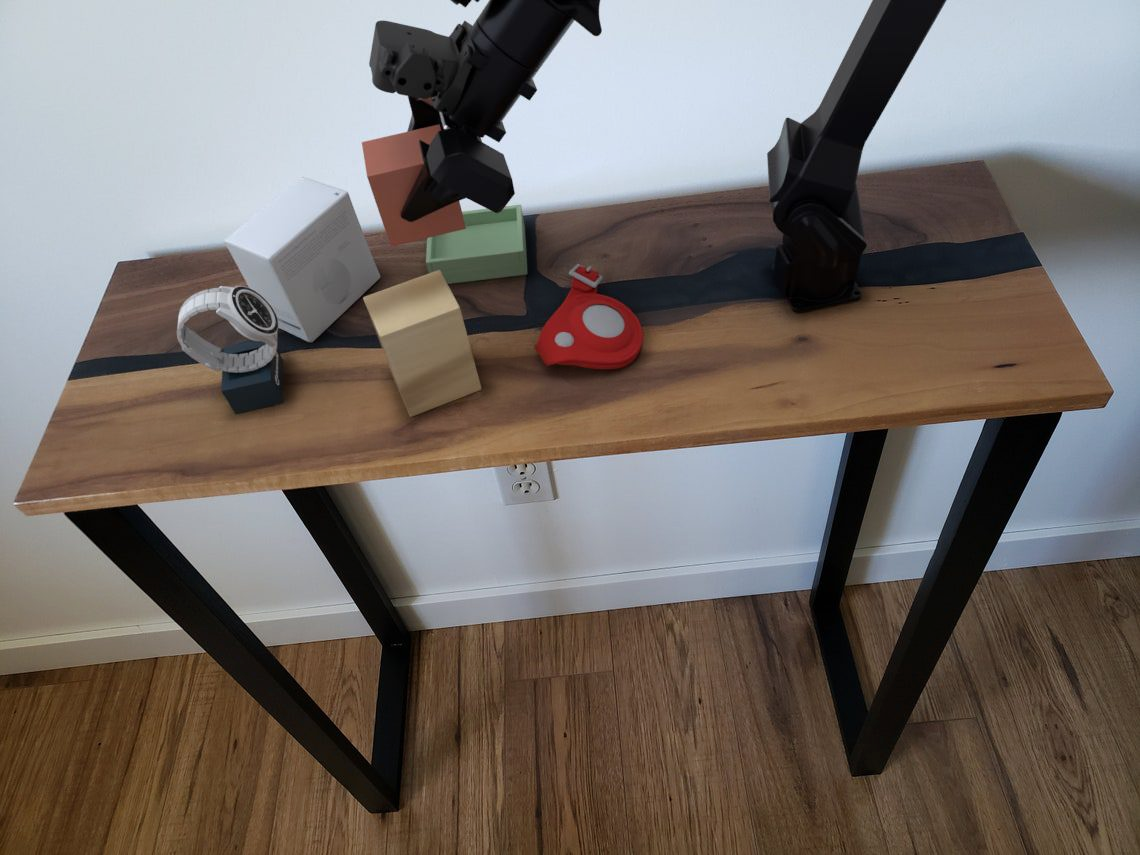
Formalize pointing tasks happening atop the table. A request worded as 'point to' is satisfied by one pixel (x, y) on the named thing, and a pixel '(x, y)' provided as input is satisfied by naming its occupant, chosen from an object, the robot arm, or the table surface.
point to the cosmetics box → (305, 257)
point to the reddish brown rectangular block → (405, 186)
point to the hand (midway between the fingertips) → (401, 199)
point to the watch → (238, 346)
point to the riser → (424, 342)
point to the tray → (481, 247)
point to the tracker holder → (590, 328)
